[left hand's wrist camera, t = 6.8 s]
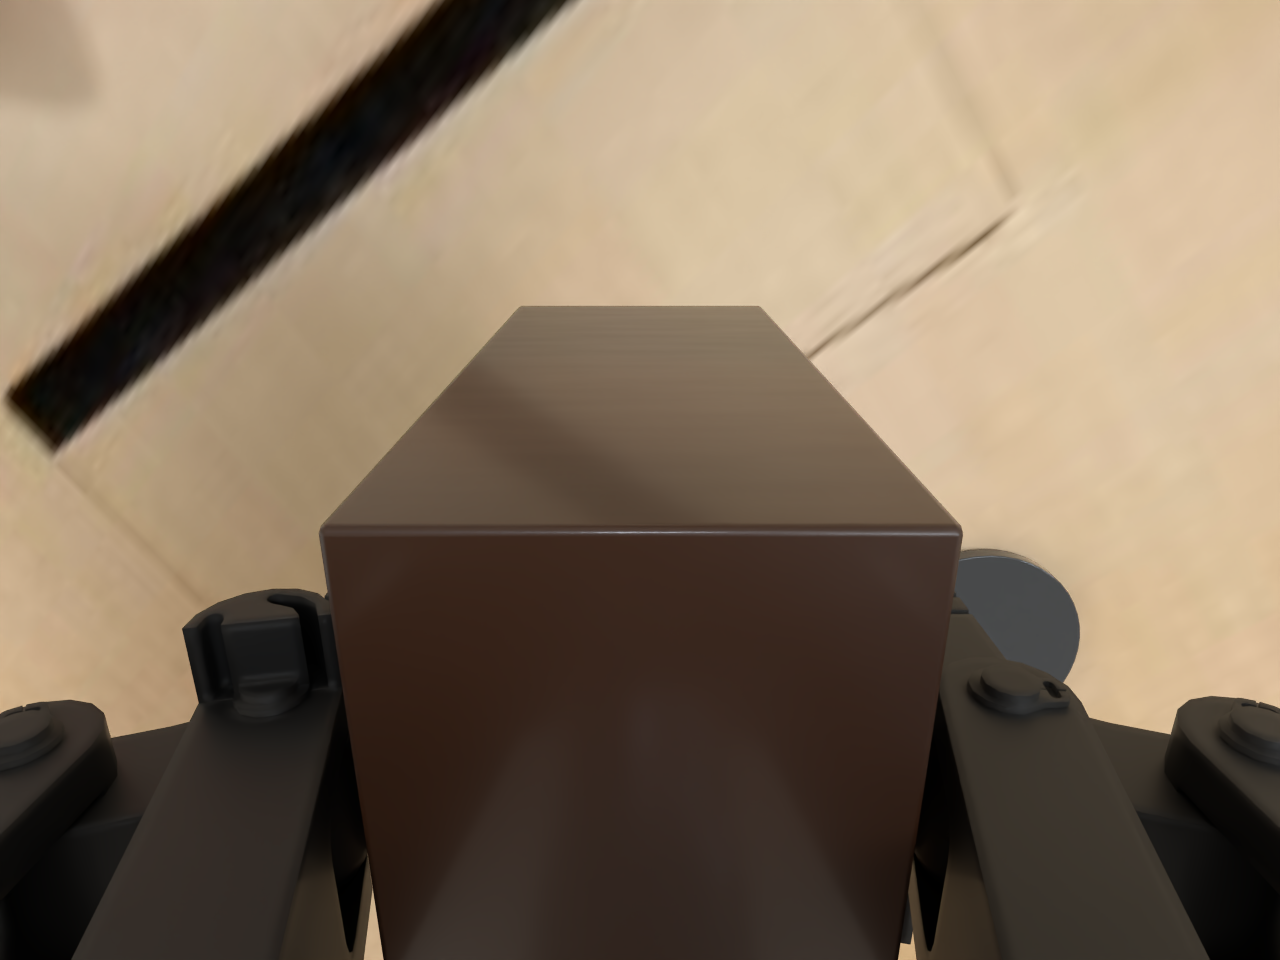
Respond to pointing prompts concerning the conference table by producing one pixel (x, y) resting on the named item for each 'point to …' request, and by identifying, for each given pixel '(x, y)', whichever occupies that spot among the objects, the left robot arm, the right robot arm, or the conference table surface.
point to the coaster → (1020, 609)
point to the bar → (640, 650)
